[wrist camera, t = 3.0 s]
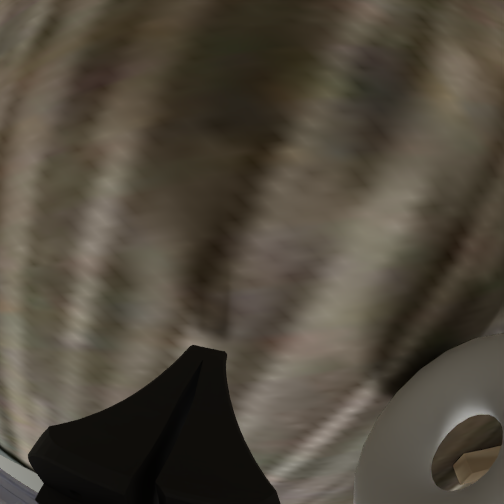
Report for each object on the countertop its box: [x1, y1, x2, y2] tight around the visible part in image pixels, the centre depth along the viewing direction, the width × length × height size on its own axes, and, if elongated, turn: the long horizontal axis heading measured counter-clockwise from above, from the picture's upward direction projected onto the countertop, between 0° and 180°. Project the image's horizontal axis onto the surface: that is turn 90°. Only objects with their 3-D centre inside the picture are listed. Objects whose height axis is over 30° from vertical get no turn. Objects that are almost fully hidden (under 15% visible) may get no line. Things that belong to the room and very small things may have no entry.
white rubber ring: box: [354, 333, 504, 504], centre depth 8 cm, size 10×3×10 cm, turn 139°
